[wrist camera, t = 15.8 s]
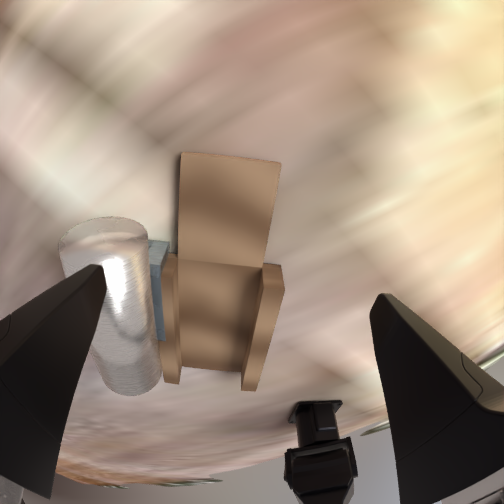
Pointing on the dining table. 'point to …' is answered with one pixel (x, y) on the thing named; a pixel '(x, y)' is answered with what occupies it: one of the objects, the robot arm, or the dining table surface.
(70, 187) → the dining table surface
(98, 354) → the silver metal tumbler
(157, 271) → the v block
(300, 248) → the dining table surface
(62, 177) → the dining table surface
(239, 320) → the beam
